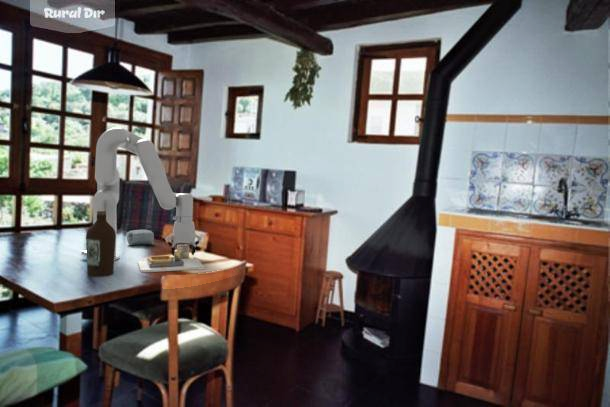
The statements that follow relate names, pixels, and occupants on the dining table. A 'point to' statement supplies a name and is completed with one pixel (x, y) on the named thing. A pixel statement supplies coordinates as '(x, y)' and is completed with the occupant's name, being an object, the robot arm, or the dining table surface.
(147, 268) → the index board
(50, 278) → the dining table surface
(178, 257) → the carriage
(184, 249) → the link block
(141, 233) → the rolled grey towel
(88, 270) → the olive oil
